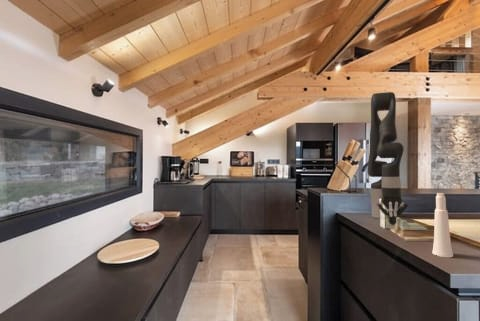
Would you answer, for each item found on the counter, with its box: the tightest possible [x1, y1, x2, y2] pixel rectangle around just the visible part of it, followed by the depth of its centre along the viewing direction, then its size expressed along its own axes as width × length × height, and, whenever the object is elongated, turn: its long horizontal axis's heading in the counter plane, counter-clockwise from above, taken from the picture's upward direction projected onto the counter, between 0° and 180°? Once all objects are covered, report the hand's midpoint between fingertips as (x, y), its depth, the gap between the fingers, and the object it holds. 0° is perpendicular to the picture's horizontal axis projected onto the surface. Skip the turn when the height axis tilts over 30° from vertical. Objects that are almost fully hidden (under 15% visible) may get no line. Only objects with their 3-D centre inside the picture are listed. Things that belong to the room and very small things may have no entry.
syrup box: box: [379, 199, 394, 230], centre depth 132 cm, size 6×6×14 cm
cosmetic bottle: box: [431, 192, 454, 258], centre depth 94 cm, size 6×6×22 cm
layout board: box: [389, 224, 452, 242], centre depth 117 cm, size 17×17×4 cm
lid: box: [395, 216, 427, 230], centre depth 118 cm, size 10×10×4 cm
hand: (392, 224), depth 119 cm, fingers closed
